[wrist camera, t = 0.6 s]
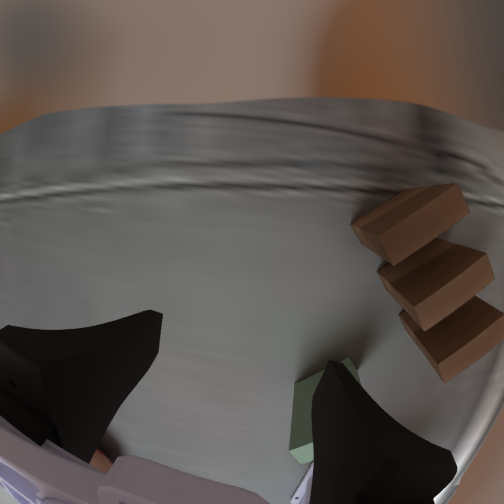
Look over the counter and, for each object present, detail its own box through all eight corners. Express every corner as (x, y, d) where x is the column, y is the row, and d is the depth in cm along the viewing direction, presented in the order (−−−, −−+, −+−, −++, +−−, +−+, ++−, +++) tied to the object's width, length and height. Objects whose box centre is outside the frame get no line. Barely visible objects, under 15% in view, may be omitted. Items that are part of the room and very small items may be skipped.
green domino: (357, 370, 22) (374, 434, 14) (303, 396, 23) (301, 464, 16) (348, 356, 22) (365, 419, 14) (294, 383, 23) (288, 450, 16)
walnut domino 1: (415, 208, 20) (470, 212, 12) (361, 243, 21) (393, 266, 13) (405, 189, 20) (456, 183, 12) (350, 224, 21) (377, 236, 13)
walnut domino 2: (438, 254, 20) (494, 278, 12) (386, 289, 21) (424, 331, 13) (430, 236, 20) (486, 253, 12) (376, 271, 21) (413, 306, 13)
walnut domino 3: (455, 296, 20) (508, 334, 12) (406, 330, 21) (444, 383, 13) (449, 280, 20) (504, 313, 12) (398, 314, 21) (437, 364, 13)
